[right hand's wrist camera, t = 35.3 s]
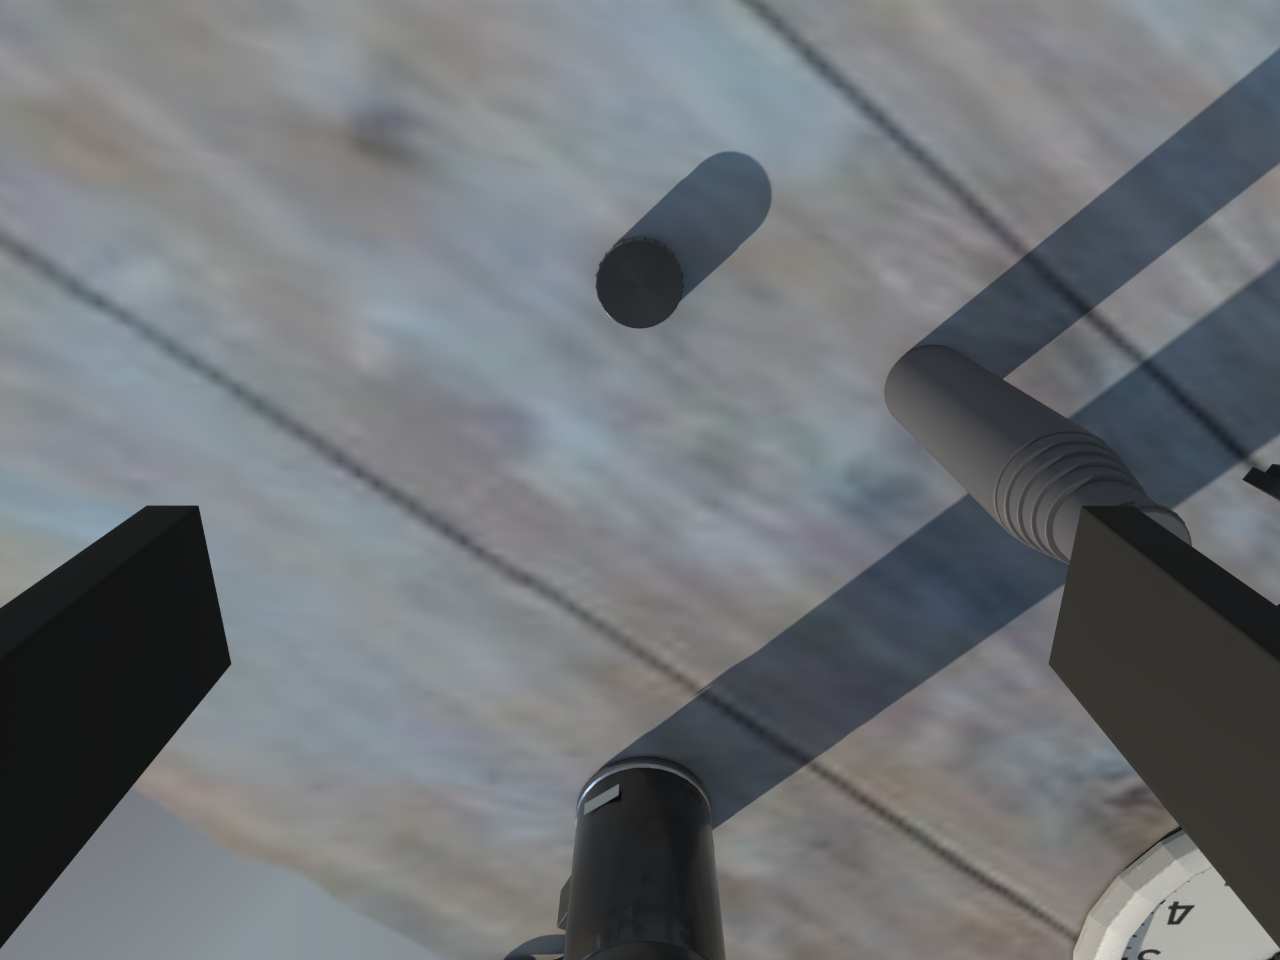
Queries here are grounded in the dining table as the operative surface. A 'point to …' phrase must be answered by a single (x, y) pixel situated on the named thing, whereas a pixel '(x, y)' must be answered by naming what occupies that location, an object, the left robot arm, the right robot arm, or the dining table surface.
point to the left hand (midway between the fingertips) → (1194, 557)
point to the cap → (639, 282)
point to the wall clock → (1172, 912)
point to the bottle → (1012, 450)
